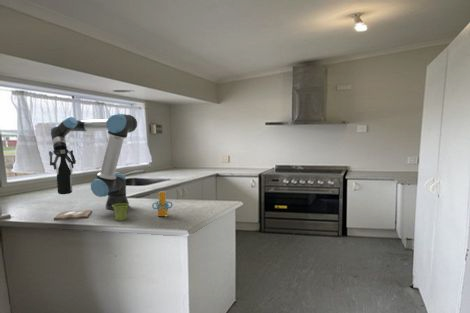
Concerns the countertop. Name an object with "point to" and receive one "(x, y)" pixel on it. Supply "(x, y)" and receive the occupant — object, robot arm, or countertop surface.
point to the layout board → (73, 215)
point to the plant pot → (120, 211)
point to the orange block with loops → (162, 204)
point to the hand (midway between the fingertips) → (64, 172)
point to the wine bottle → (64, 175)
